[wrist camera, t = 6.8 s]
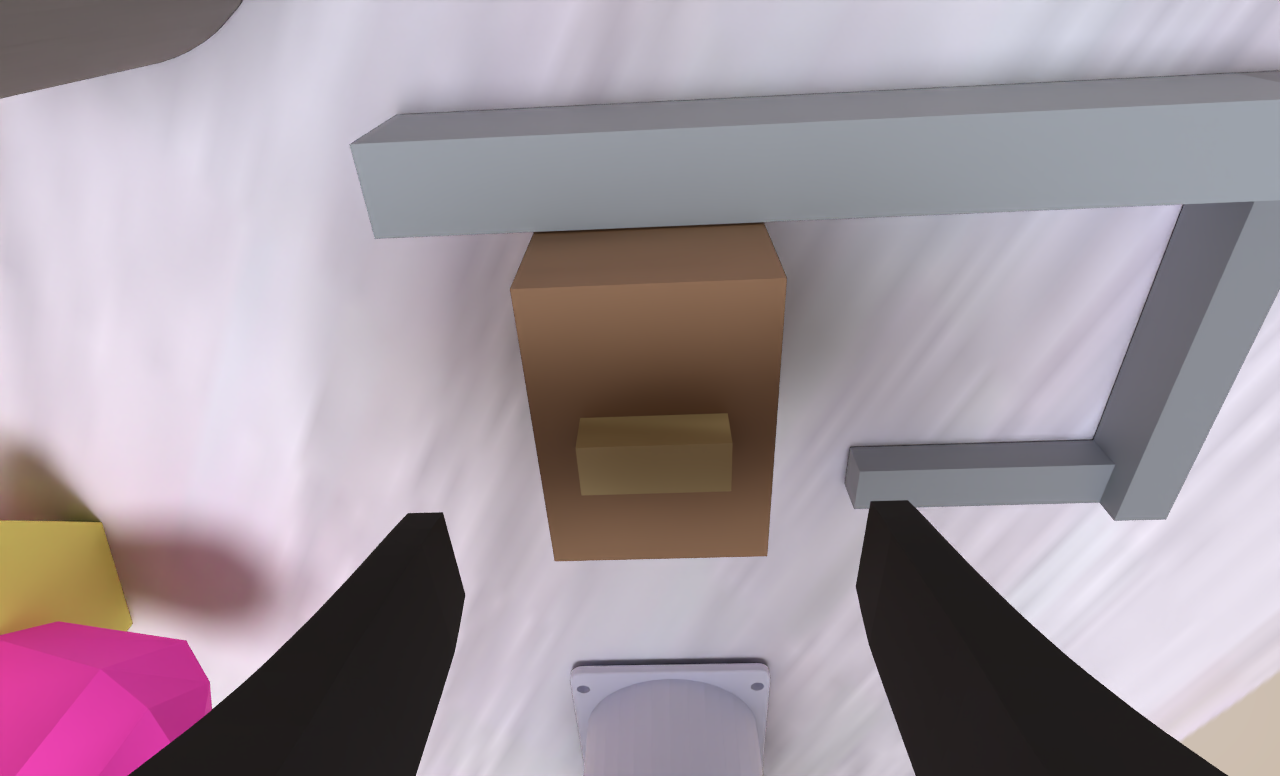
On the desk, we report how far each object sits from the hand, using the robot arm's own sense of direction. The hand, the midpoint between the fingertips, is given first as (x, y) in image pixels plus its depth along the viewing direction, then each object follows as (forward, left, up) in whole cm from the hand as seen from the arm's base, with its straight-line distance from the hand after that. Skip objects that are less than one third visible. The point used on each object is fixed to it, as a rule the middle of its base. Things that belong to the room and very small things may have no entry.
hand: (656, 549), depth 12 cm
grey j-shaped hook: (0, -4, -9) cm, 10 cm away
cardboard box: (0, 0, -9) cm, 9 cm away
